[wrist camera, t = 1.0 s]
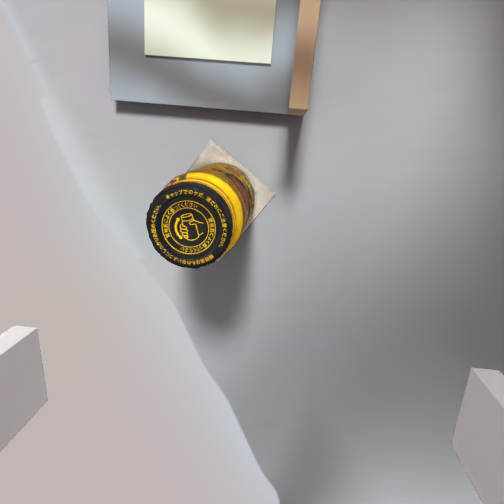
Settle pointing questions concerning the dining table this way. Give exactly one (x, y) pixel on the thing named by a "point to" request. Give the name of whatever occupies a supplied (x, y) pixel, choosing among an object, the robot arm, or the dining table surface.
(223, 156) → the condiment
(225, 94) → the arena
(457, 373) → the dining table surface
